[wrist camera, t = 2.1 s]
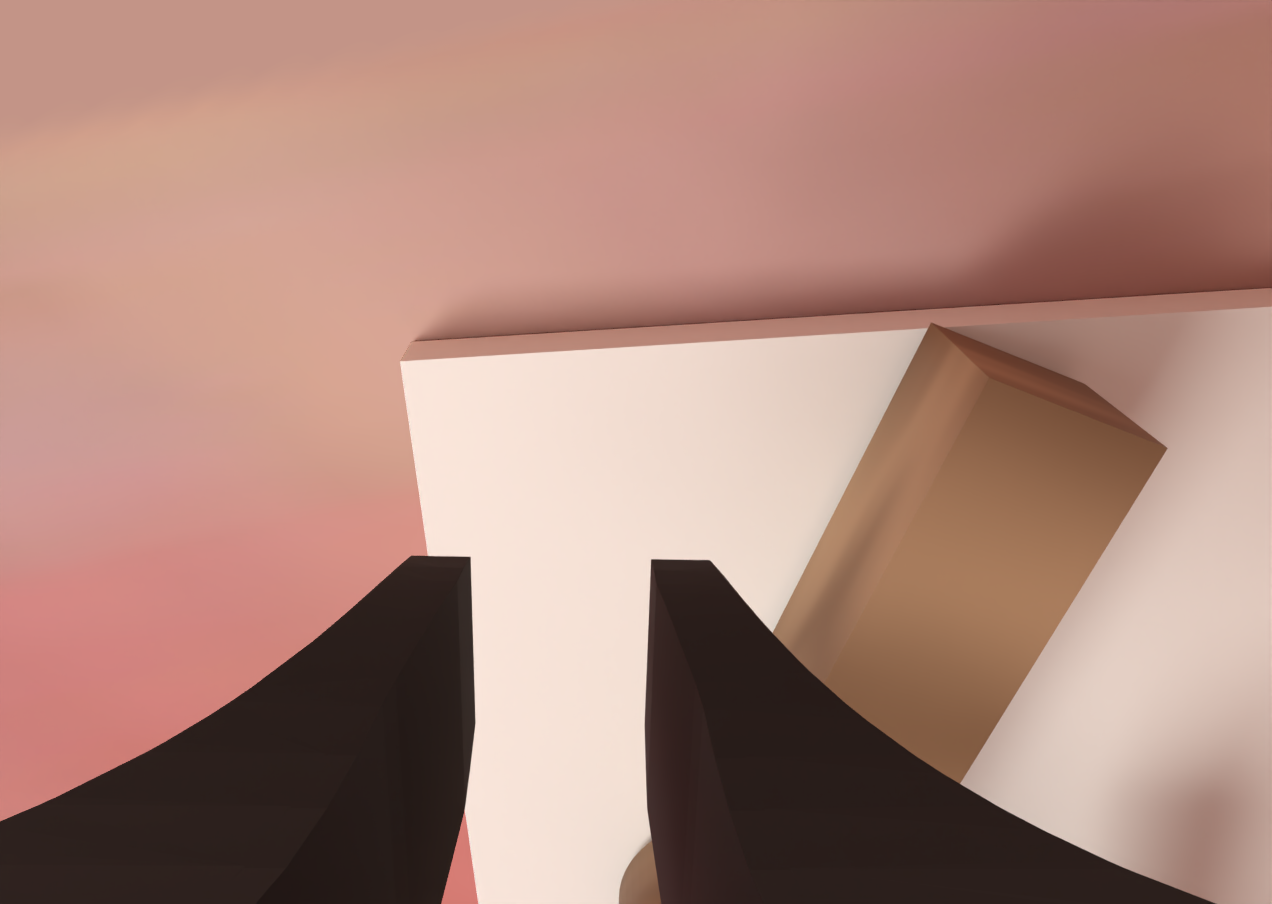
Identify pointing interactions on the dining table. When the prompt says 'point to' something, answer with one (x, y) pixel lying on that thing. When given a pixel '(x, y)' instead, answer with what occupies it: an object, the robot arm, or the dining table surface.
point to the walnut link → (957, 549)
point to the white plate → (787, 537)
